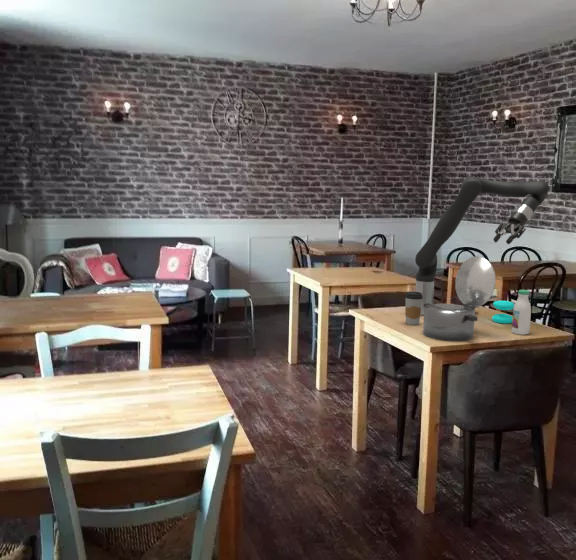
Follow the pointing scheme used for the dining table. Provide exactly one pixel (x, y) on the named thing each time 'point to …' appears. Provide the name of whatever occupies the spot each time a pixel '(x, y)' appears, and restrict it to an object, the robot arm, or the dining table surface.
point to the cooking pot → (449, 322)
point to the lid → (475, 282)
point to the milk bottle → (521, 314)
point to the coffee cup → (413, 307)
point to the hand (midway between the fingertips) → (501, 242)
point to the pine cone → (457, 301)
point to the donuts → (503, 317)
